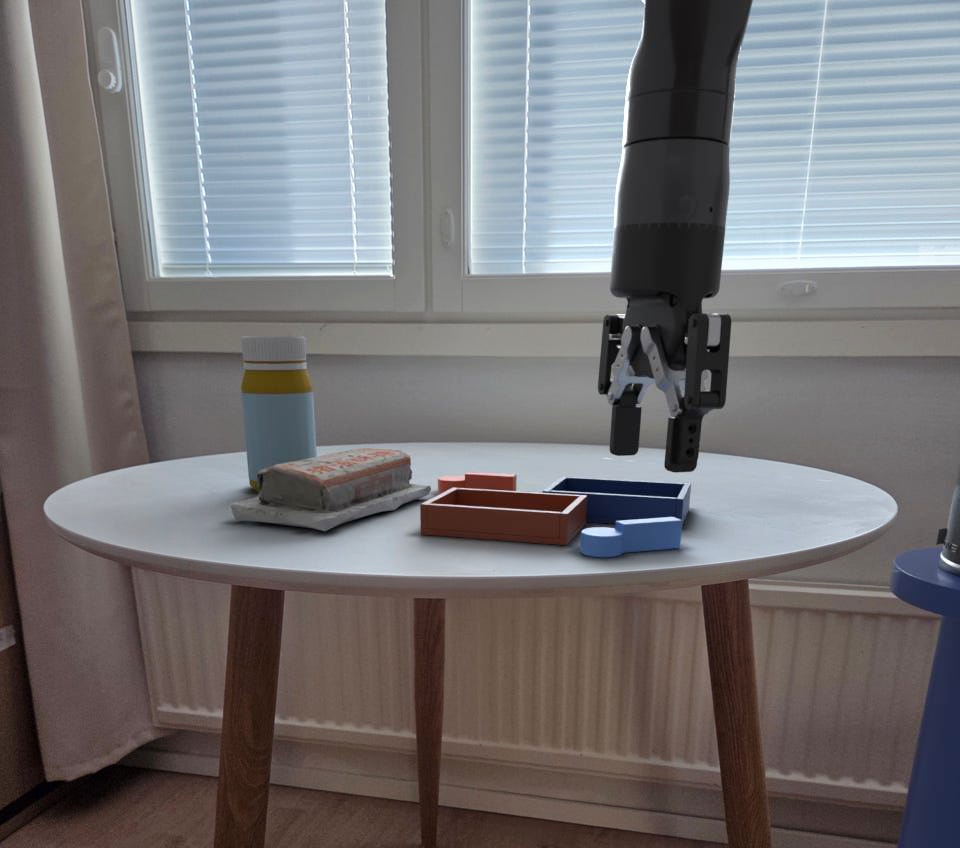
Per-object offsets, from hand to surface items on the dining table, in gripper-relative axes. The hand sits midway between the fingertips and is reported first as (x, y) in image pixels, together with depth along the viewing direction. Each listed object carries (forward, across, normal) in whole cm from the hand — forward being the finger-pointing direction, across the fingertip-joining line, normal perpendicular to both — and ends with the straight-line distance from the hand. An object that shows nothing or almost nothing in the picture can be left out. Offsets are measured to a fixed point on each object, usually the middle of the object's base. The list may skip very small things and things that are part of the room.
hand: (649, 462), depth 65 cm
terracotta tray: (+7, +9, +8) cm, 14 cm away
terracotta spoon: (+7, +25, +5) cm, 26 cm away
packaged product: (+7, +22, +20) cm, 30 cm away
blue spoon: (+7, 0, +1) cm, 7 cm away
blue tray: (+7, +12, -4) cm, 14 cm away
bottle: (+7, +34, +23) cm, 42 cm away
